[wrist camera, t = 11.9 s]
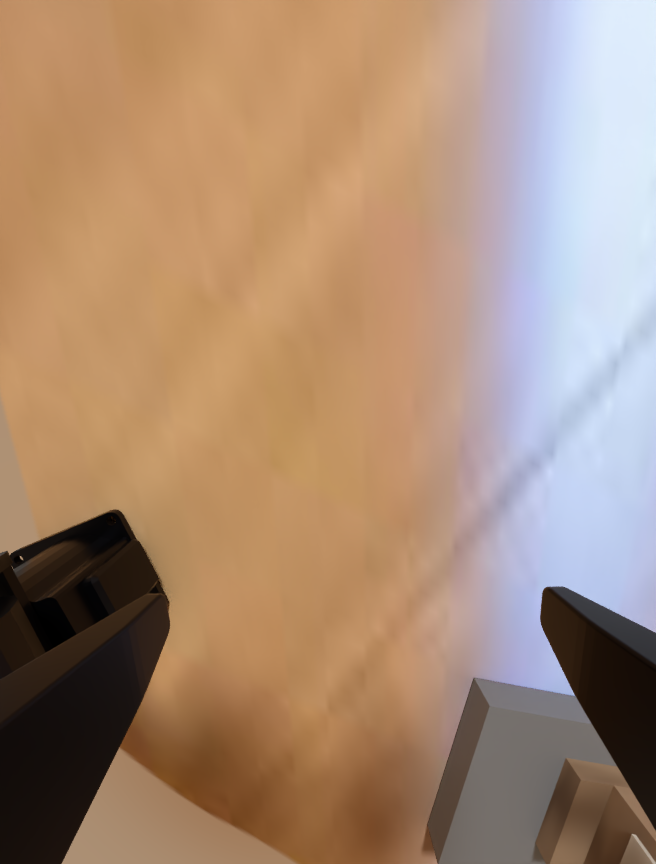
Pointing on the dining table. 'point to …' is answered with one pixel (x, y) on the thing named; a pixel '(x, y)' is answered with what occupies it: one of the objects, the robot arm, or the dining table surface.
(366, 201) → the dining table surface
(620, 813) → the brown upright panelled block
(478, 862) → the grey l-shaped bracket
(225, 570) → the dining table surface
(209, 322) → the dining table surface
